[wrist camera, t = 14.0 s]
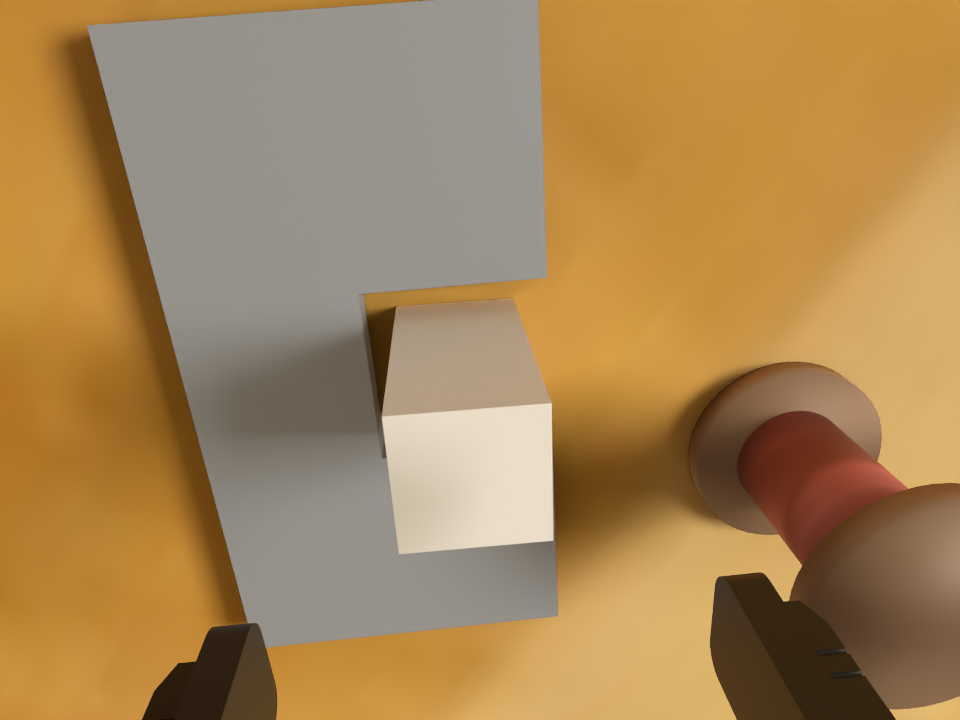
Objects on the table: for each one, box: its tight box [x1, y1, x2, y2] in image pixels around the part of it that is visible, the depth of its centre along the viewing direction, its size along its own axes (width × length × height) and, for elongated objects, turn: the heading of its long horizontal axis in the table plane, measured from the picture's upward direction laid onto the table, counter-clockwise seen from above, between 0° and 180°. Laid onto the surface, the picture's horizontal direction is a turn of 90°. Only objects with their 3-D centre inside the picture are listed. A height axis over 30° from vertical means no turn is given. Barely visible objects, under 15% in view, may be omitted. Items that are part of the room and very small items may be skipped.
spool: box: [688, 362, 960, 709], centre depth 22 cm, size 7×7×9 cm
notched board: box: [87, 0, 558, 647], centre depth 23 cm, size 22×12×2 cm, turn 4°
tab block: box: [382, 298, 553, 554], centre depth 20 cm, size 4×4×8 cm
